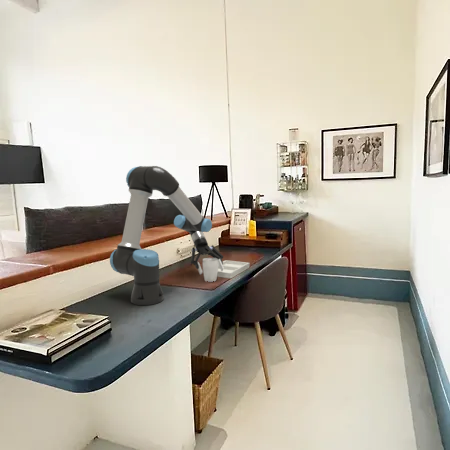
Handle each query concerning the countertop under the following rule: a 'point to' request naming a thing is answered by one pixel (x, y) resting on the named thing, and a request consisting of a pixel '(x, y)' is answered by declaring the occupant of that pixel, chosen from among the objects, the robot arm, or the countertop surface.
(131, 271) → the robot arm
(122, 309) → the countertop surface
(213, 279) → the cup
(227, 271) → the tray
